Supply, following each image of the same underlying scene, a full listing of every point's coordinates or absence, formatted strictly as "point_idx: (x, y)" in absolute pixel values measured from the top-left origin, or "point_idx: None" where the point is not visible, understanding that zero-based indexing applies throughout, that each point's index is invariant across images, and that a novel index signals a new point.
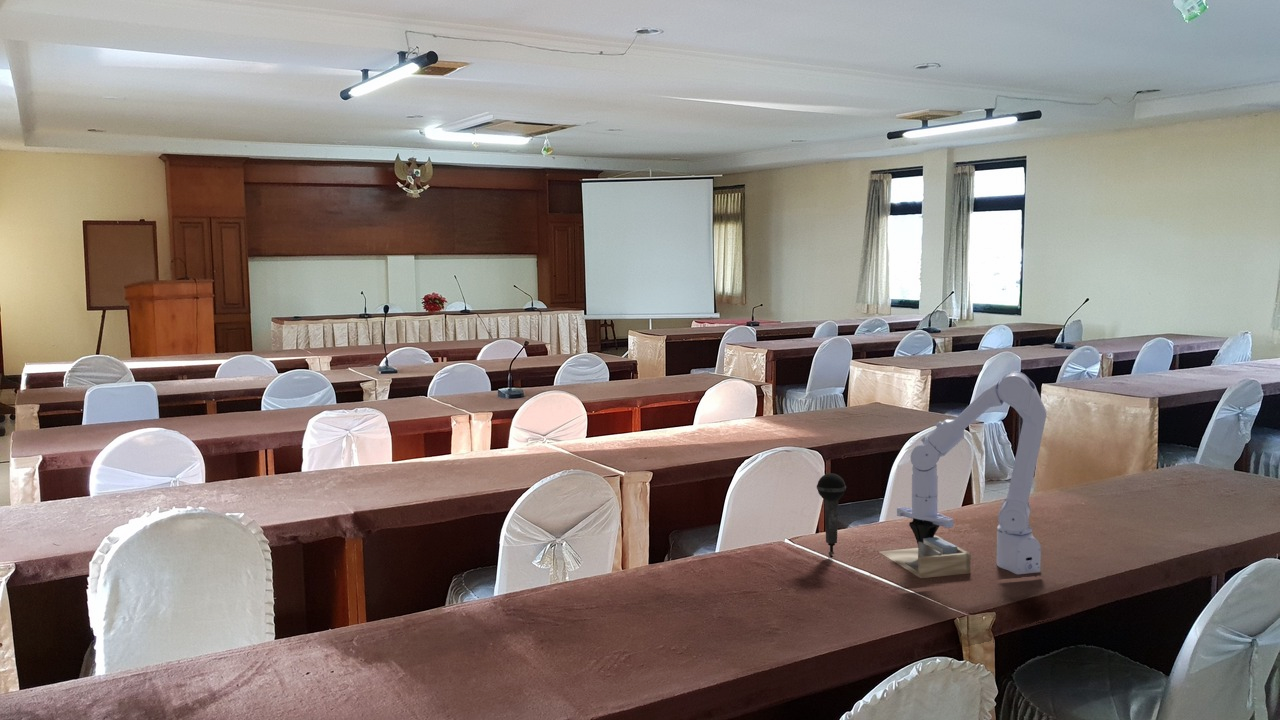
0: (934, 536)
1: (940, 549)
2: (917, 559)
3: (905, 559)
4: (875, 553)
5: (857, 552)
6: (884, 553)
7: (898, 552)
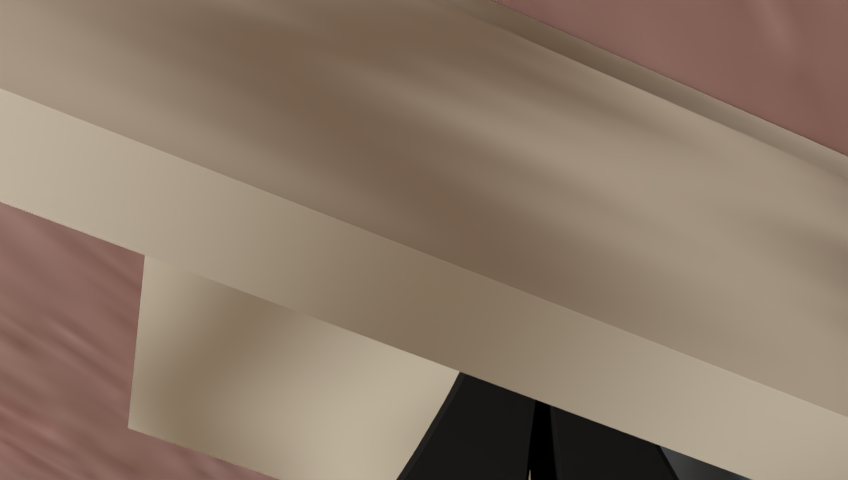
0: (665, 429)
1: None
2: None
3: None
4: (94, 382)
5: (23, 433)
6: (208, 440)
7: (239, 351)
